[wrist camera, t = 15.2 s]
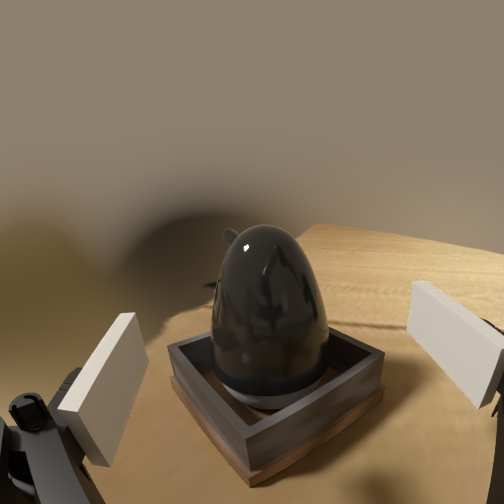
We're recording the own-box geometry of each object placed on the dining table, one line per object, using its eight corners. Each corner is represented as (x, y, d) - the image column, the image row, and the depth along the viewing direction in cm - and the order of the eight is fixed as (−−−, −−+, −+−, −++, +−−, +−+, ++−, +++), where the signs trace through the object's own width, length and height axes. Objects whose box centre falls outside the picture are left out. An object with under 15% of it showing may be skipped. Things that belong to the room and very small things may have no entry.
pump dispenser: (278, 347, 34) (270, 210, 30) (350, 387, 25) (360, 221, 21) (197, 383, 28) (170, 229, 24) (262, 446, 20) (244, 251, 16)
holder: (285, 342, 37) (284, 302, 36) (382, 398, 25) (391, 352, 24) (172, 387, 30) (161, 344, 28) (250, 487, 17) (242, 446, 16)
